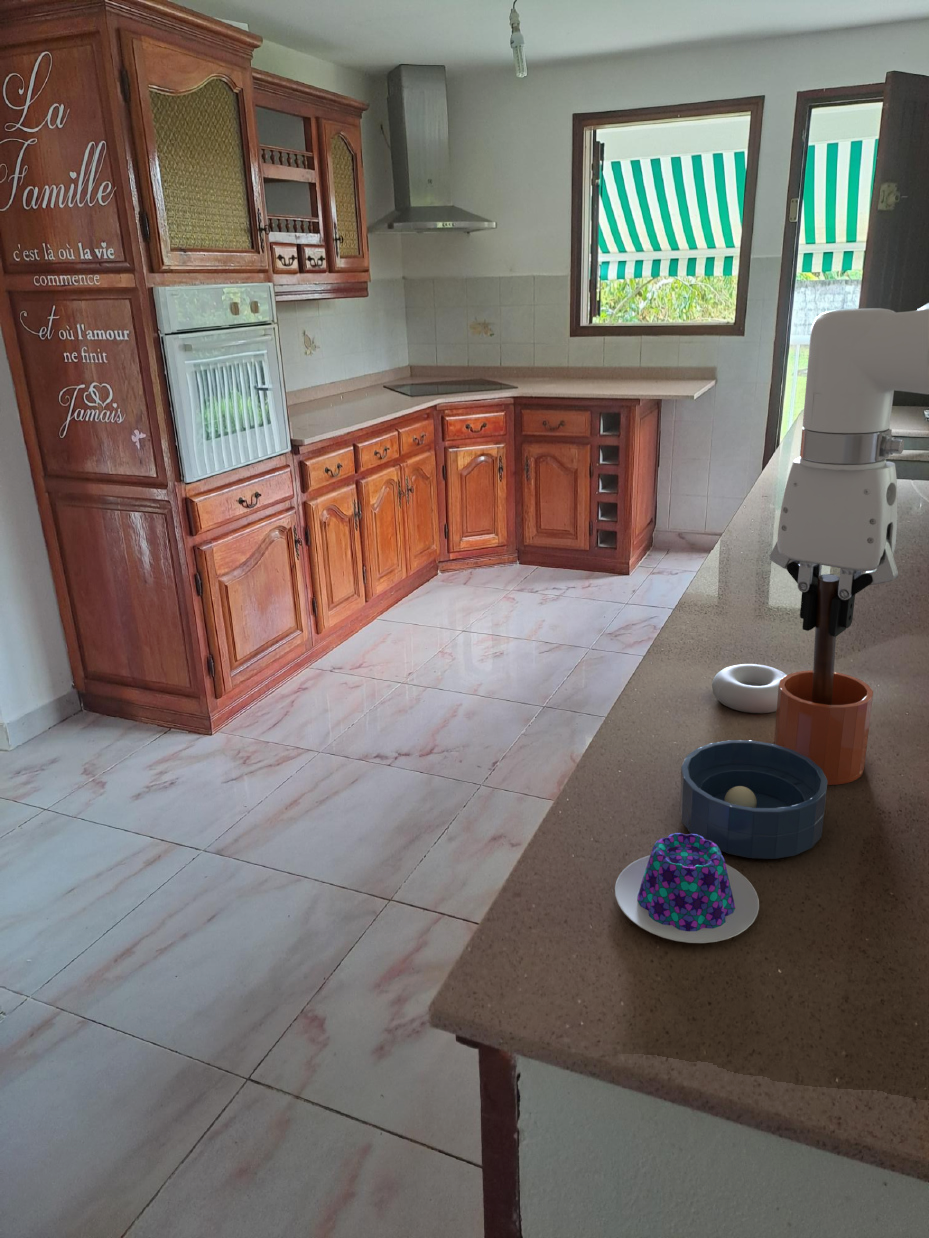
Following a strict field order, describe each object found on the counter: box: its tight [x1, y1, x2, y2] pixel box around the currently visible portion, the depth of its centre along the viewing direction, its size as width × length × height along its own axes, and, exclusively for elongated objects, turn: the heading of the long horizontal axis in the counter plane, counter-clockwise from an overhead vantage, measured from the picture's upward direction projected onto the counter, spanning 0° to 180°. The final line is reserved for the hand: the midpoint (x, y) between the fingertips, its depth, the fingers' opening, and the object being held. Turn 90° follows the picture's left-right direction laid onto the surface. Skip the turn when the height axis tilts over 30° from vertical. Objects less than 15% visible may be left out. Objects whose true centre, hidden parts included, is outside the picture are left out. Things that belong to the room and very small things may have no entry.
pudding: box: [614, 832, 760, 944], centre depth 75 cm, size 12×12×5 cm
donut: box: [711, 663, 787, 714], centre depth 110 cm, size 10×4×10 cm
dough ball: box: [725, 786, 757, 808], centre depth 86 cm, size 3×3×3 cm
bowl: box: [679, 739, 828, 860], centre depth 85 cm, size 13×13×6 cm
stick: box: [812, 573, 840, 705], centre depth 91 cm, size 2×2×18 cm
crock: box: [773, 669, 874, 786], centre depth 94 cm, size 9×9×9 cm
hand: (824, 628), depth 89 cm, fingers closed on stick, 2 cm apart
